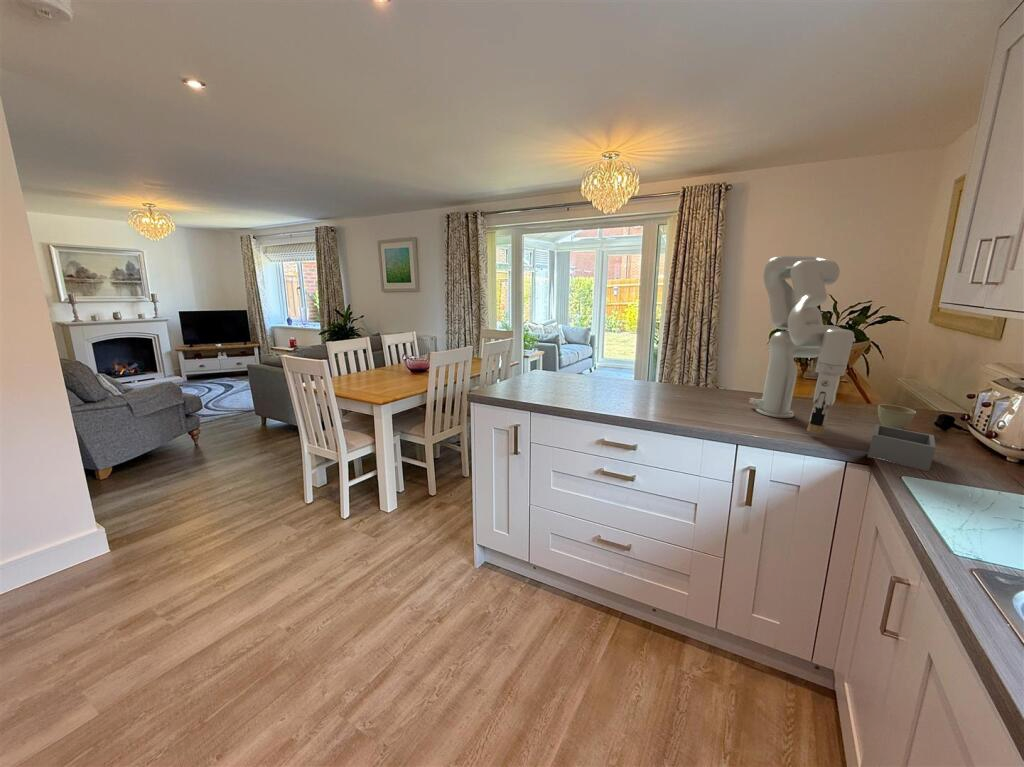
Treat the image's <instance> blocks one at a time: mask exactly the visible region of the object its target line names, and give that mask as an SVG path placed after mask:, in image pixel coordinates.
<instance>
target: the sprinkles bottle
mask: <svg viewBox="0 0 1024 767" xmlns="http://www.w3.org/2000/svg"><path fill="white" fill-rule="evenodd" d="M815 404H816V403H814V402H813V407H812V410H811V413H810V417H809V420H808V421H809V422H808V426H807V428H806V430H807V432H809V433H811V434H814V435H815V434H816V435H822V434H824V431H825V425H826V424H827V420H828V416H829V411H830V407H831V406H829V405H826V409H825V412H824V414H825V417H824V421H823V425H822V426H817V425H813V424H810V421H811V417H812V413H813V412H814V408H815ZM823 404H824V405H825V403H823ZM822 407H824V406H822Z"/></svg>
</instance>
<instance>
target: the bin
mask: <svg viewBox="0 0 1024 767" xmlns="http://www.w3.org/2000/svg"><path fill="white" fill-rule="evenodd" d="M936 449H937V448H936V440H935V435H933V434H928V433H923V432H917V431H913V430H908V429H904V428H903V429H898V428H893V427H888V426H883V425H882V424H877V423H876V424H874V429H873V433H872V436H871V441H870V446H869V448H868V453H867V458H870V459H873V458H874V457H875V458H881V459H885V460H888V461H891V462H895V463H898V464H897V465H899V464H902V465H901V466H903V465H905V466H904V467H907V466H909V467H908V468H912V467H913V468H912V469H917V470H920V471H924V472H930V468H931V465H932V461H933V458H934V456H935V452H936ZM895 463H894V464H895Z"/></svg>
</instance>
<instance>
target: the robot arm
mask: <svg viewBox="0 0 1024 767" xmlns="http://www.w3.org/2000/svg"><path fill="white" fill-rule="evenodd" d="M840 269H841V268H840V267H839V264H838V263H837V262H836V261H834V260H832V259H827V258H823V257H819V256H811V255H810V256H809V255H804V256H803V255H779V256H774V257H772V258H770V259H769V260H768V261H767V262H766V264H765V266H764V269H763V283H764V286H765V290H766V293H767V296H768V299H769V310H770V318H771V320H770V321H771V324H772V326H773V327H774V328H775V329H778V330H781V331H777V332H775V333H773V334H772V335H771V337H770V339H769V342H768V349H769V353H768V354H769V355H768V356H769V357H768V364H767V371H766V376H765V382H764V385H763V386H764V387H763V394H762V396H761V398H758V399H756V398H753V397H750V398H749V400H748V403H750V404H751V405H757V406H755V411H756V412H757V413H759V414H761V415H765V416H769V417H774V418H780V419H790V418H793V417H794V415H795V413H794V411H792V410H791V405H792V400H793V395H794V391H795V385H796V381H797V377H798V366H797V364H796V362H795V360H794V358H805V359H806V358H808V359H811V358H812V359H813V358H817V361H816V365H815V370H814V371H815V372H816V373H818V377H817V381H816V383H815V384H816V385H815V390H814V394H813V398H812V399H813V404H814V403H816V404H815V408H814V412H813V413H812V417H811V421H810V424H813V425H817V426H822V425H823V421H824V417H825V414H824V412H825V409H826V405H829V406H830V407H832V406H833V405H834V403H835V400H836V398H837V393H838V387H839V385H840V384H839V383H840V379H841V377H843V376H845V375H846V372H847V371H846V370H847V366H848V363H849V360H850V355H851V353H852V352H851V351H852V347H853V344H854V340H855V333H854V331H852V330H851V329H845V328H841V327H840V326H837V325H831V324H829V325H828V324H824V322H823V316H822V312H821V310H820V309H819V308H818V307H819V306H821V305H822V304H824V303H825V302H826V301H827V299H828V293H827V289H826V287H825V286H830V285H833V284H834V283H836V282H837V281H838V279H839V278H840V272H841V271H840ZM786 280H791V284H792V285H791V284H790V283H788V282H787V281H786ZM823 403H825V405H824V404H823ZM822 406H824V407H822Z"/></svg>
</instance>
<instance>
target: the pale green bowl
mask: <svg viewBox="0 0 1024 767" xmlns="http://www.w3.org/2000/svg"><path fill="white" fill-rule="evenodd" d="M877 414H878V419H879V421H880V425H883V426H888V427H893V428H898V429H903V430H904V428H906V427H907V426H908V425H909V424H910V423H911V422H912V420H914V417H915V416H916V414H917V411H916V410H914V409H911V408H908V407H905V406H899V405H895V404H878V406H877Z"/></svg>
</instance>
